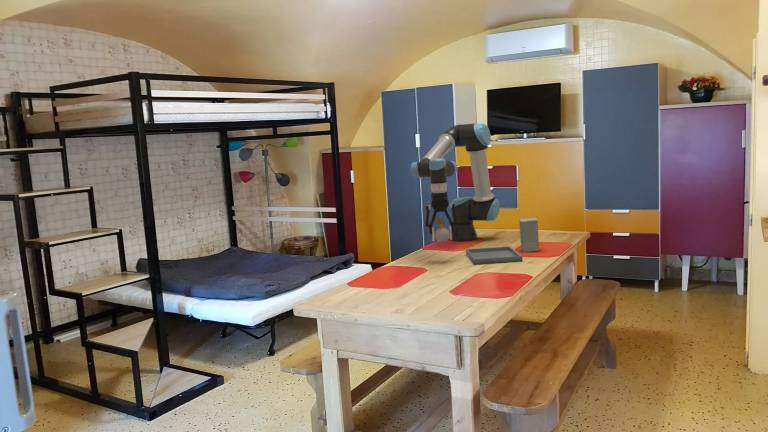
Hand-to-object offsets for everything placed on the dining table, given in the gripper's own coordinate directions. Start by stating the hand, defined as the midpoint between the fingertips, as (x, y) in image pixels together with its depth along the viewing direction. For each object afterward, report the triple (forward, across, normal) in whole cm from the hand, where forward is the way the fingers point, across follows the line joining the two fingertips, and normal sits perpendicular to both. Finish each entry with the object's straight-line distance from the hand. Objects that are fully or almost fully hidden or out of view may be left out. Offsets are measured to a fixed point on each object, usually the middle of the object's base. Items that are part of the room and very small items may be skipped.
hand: (442, 240), depth 289 cm
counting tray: (+11, +24, 0) cm, 26 cm away
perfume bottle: (+1, -1, 0) cm, 1 cm away
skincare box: (+11, +44, +10) cm, 46 cm away
